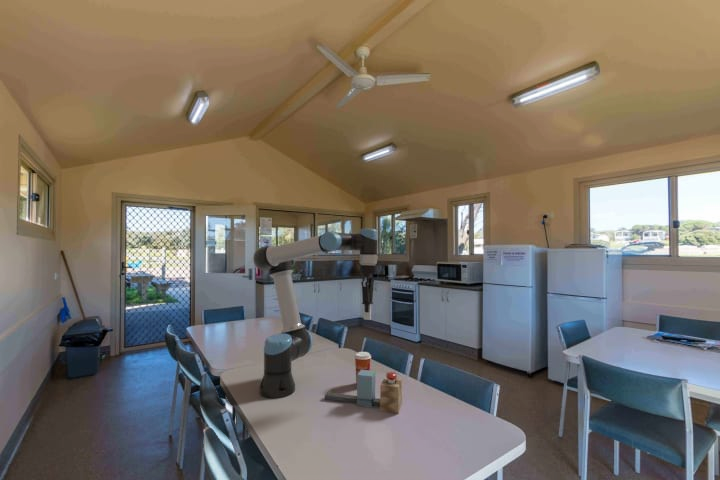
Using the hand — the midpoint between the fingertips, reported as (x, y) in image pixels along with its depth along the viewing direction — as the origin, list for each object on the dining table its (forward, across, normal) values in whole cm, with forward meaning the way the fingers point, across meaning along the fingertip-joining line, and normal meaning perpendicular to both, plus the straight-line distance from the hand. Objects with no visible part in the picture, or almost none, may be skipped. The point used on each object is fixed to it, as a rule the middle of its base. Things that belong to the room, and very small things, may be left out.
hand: (367, 319), depth 145 cm
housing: (+32, -8, -13) cm, 35 cm away
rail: (+32, -9, +3) cm, 33 cm away
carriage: (+32, -9, -2) cm, 33 cm away
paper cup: (+32, +9, +4) cm, 34 cm away
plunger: (+25, -8, -12) cm, 29 cm away
